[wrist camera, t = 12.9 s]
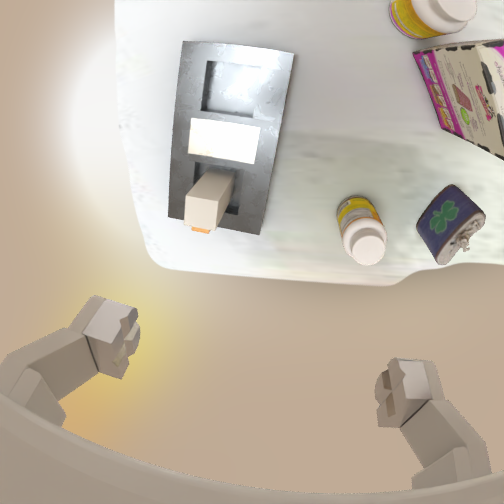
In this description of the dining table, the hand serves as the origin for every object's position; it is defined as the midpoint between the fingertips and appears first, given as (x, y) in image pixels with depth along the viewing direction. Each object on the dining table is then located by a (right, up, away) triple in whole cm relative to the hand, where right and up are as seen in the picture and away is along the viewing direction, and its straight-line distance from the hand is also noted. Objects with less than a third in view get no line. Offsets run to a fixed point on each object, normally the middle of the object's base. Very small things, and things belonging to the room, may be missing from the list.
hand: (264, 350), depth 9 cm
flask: (+26, +9, +31) cm, 42 cm away
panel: (-4, +18, +30) cm, 35 cm away
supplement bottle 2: (+19, +32, +17) cm, 41 cm away
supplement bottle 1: (+14, +9, +33) cm, 37 cm away
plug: (-5, +12, +33) cm, 35 cm away
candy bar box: (+24, +24, +22) cm, 41 cm away
